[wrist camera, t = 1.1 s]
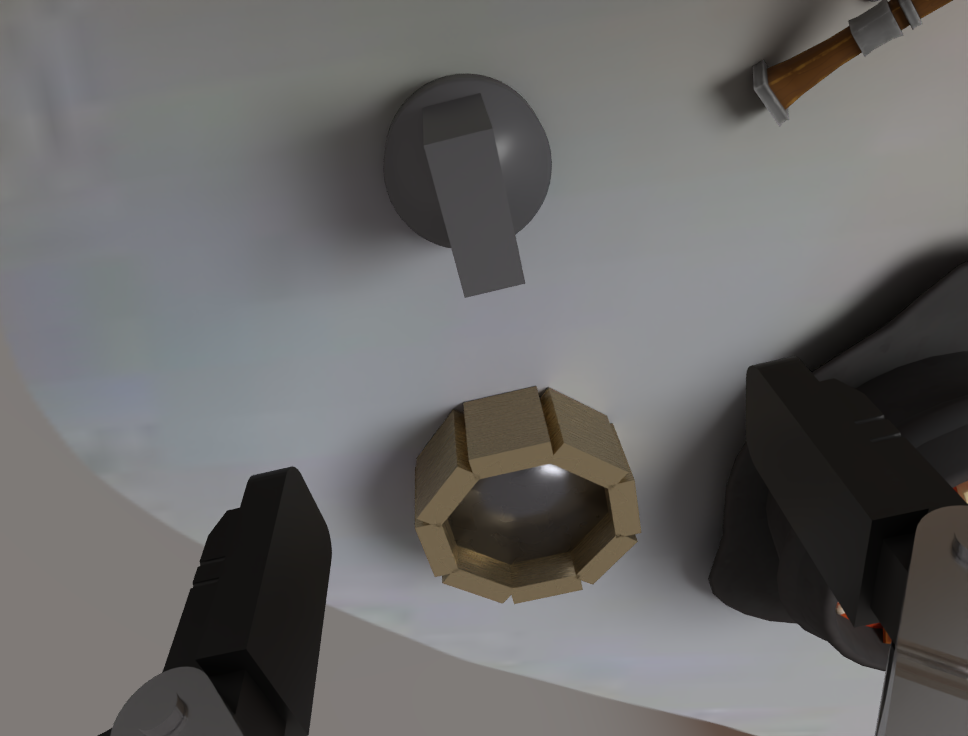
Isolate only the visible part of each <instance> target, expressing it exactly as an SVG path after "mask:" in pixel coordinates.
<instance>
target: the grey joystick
mask: <svg viewBox="0 0 968 736" xmlns="http://www.w3.org/2000/svg"><path fill="white" fill-rule="evenodd" d="M551 170H552V160H551V151H550V146H549V142H548V139H547V136H546V134H545V131H544V129H543V127H542V125H541V124H540V122H539V120H538V118H537V116H536V115H535V113H534V111H533V110H532V108H531V107H530V106H529V104H528V103H527V102H526V101H525V100H524V99H523V98H522V97H521V95H520V94H518V93H517V92H516V91H515V90H513V89H512V88H511V87H509V86H507V85H506V84H504V83H502V82H500V81H498V80H495V79H493V78H490V77H486V76H482V75H477V74H455V75H450V76H445V77H442V78H439V79H436V80H434V81H432V82H430V83H428V84H426V85H424V86H423V87H421V88H420V89H418V90H417V91H416V92H415V93H413V94H412V95H411V96H410V97H409V98H408V99H407V100H406V101H405V103H404V104H403V105H402V106H401V108H400V109H399V111H398V112H397V114H396V115H395V117H394V120H393V122H392V124H391V126H390V129H389V133H388V136H387V142H386V148H385V155H384V178H385V184H386V188H387V192H388V195H389V197H390V200H391V202H392V204H393V206H394V208H395V210H396V212H397V213H398V214H399V216H400V217H401V218H402V220H403V221H404V222H405V223H406V224H407V225H408V226H409V227H410V228H411V229H412V230H413V231H415V232H416V233H417V234H418V235H420V236H422V237H423V238H425V239H426V240H428V241H431V242H433V243H435V244H437V245H441V246H444V247H447V248H452V252H453V256H454V259H455V263H456V267H457V270H458V274H459V278H460V281H461V285H462V289H463V293H464V296H465V298H466V297H470V296H474V295H479V294H483V293H487V292H491V291H496V290H500V289H504V288H508V287H512V286H517V285H521V284H525V280H524V275H523V270H522V265H521V261H520V256H519V251H518V246H517V242H516V237H515V234H517V233H518V232H519V231H520V230H522V229H523V228H524V227H525V226H526V225H527V224H528V223H529V222H530V221H531V220H532V218H533V217H534V216H535V215H536V213H537V212H538V210H539V208H540V207H541V205H542V203H543V201H544V199H545V197H546V194H547V191H548V188H549V184H550V179H551Z"/></svg>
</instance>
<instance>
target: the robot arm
mask: <svg viewBox="0 0 968 736" xmlns="http://www.w3.org/2000/svg"><path fill="white" fill-rule="evenodd" d="M746 440H747V445H748V449H749V453H750V456H751V459H752V461H753V463H754V466H755V467H756V469H757V471H758V473H759V474H760V476H761V477H762V479H763V481H764V482H765V484H766V486H767V487H768V489H769V490H770V492H771V494H772V495H773V497H774V499H775V500H776V502H777V503H778V505H779V507H780V508H781V510H782V512H783V513H784V515H785V516H786V518H787V520H788V521H789V523H790V524H791V526H792V528H793V529H794V531H795V533H796V534H797V536H798V537H799V539H800V541H801V542H802V544H803V546H804V547H805V549H806V550H807V552H808V554H809V555H810V557H811V559H812V560H813V562H814V563H815V565H816V567H817V568H818V570H819V572H820V573H821V575H822V576H823V578H824V580H825V581H826V583H827V585H828V586H829V588H830V589H831V591H832V593H833V594H834V596H835V598H836V599H837V601H838V602H839V604H840V606H841V607H842V609H843V611H844V612H845V614H846V615H847V617H848V619H849V620H850V622H851V624H852V625H853V627H854V628H856V627H861V626H866V625H871V624H876V623H881V625H882V626H883V628H884V629H885V631H886V632H887V634H888V635H889V637H890V638H891V645H890V649H889V655H888V661H887V666H886V672H885V678H884V684H883V690H882V696H881V701H880V707H879V713H878V719H877V725H876V731H875V736H968V504H967V503H966V502H965V501H964V499H963V498H962V497H961V496H960V495H959V494H958V493H957V492H956V491H955V490H954V489H953V488H952V487H951V486H950V485H949V483H948V482H947V481H946V480H945V479H944V478H943V477H942V476H941V475H940V474H939V473H938V472H937V471H936V470H935V469H934V468H933V466H932V465H931V464H930V463H929V462H928V461H927V460H926V459H925V458H924V457H923V456H922V455H921V454H920V453H919V452H918V450H917V449H916V448H915V447H914V446H913V445H912V444H911V443H910V442H909V441H908V440H907V439H906V438H905V437H902V436H901V432H900V431H899V430H898V429H897V428H896V427H895V426H894V425H893V424H892V423H891V422H890V421H889V420H888V419H885V418H884V414H883V413H882V412H881V411H880V410H879V409H878V408H877V407H876V406H875V405H874V404H873V403H872V401H871V400H870V399H869V398H868V397H867V396H866V395H865V394H864V393H862V392H860V391H858V390H856V389H854V388H852V387H850V386H849V385H847V384H845V383H843V382H841V381H839V380H837V379H835V378H833V379H829V380H824V381H820V382H819V381H818V380H817V378H816V377H815V376H814V375H813V374H812V373H811V372H810V370H809V369H808V368H807V367H806V366H805V365H804V363H803V362H802V361H801V360H800V359H799V358H797V357H794V356H793V357H788V358H783V359H779V360H774V361H770V362H766V363H761V364H757V365H752V366H750V367H749V368H748V370H747V374H746ZM331 558H332V547H331V539H330V534H329V531H328V527H327V525H326V522H325V520H324V518H323V516H322V514H321V513H320V511H319V509H318V507H317V505H316V503H315V501H314V499H313V497H312V495H311V493H310V491H309V489H308V487H307V485H306V483H305V481H304V479H303V477H302V475H301V473H300V472H299V470H298V469H297V468H295V467H288V468H283V469H279V470H274V471H270V472H265V473H261V474H256V475H253V476H251V477H250V478H249V480H248V482H247V485H246V489H245V492H244V496H243V499H242V502H241V506H240V508H237V509H232V510H228V511H226V513H225V514H224V515H223V517H222V518H221V519H220V521H219V522H218V523H217V525H216V526H215V527H214V529H213V530H212V531H211V533H210V534H209V535H208V538H207V541H206V544H205V547H204V550H203V553H202V556H201V559H200V567H198V568H197V571H196V574H195V577H194V580H193V588H191V589H190V592H189V595H188V598H187V601H186V604H185V607H184V610H183V613H182V616H181V619H180V622H179V625H178V628H177V631H176V634H175V637H174V640H173V643H172V646H171V649H170V652H169V655H168V658H167V661H166V664H165V667H164V670H163V672H162V673H161V674H159V675H157V676H155V677H153V678H152V679H151V680H149V681H148V682H146V683H145V684H144V685H143V686H142V687H140V688H139V689H138V690H137V691H136V692H135V693H134V694H133V695H132V696H131V697H130V698H129V700H128V701H127V702H126V703H125V705H124V706H123V708H122V709H121V711H120V712H119V714H118V716H117V718H116V720H115V722H114V725H113V728H111V729H109V730H108V731H106V732H104V733H102V734H100V735H98V736H308V735H309V727H310V719H311V712H312V704H313V697H314V689H315V681H316V673H317V666H318V658H319V651H320V643H321V635H322V627H323V620H324V612H325V605H326V597H327V589H328V582H329V574H330V566H331Z"/></svg>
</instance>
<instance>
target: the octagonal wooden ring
mask: <svg viewBox="0 0 968 736" xmlns="http://www.w3.org/2000/svg"><path fill="white" fill-rule="evenodd" d="M463 404H464V414H463V413H461V412H459V411H456V410H454V409H453V410H452V411H451V413H450V414H449V415H448V417H447V418H446V419H445V421H444V422H443V424H442V425H441V426H440V428H439V429H438V430H437V432H436V433H435V434H434V436H433V437H432V438H431V440H430V441H429V442H428V444H427V445H426V447H425V448H424V449H423V451H422V452H421V453H420V455H419V456H418V457H417V467H415V530H416V532H417V534H418V537H419V539H420V542H421V544H422V547H423V549H424V551H425V554H426V556H427V559H428V561H429V564H430V566H431V568H432V571H433V573H434V576H435V577H437V576H441V575H442V583H444V584H447V585H450V586H453V587H456V588H459V589H462V590H464V591H467V592H470V593H473V594H476V595H479V596H482V597H485V598H488V599H491V600H494V601H497V602H500V603H504V602H505V601H506V600H507V599H508V598H509V596H510V595H512V598H513V601H514V604H517V603H521V602H526V601H531V600H536V599H541V598H545V597H550V596H555V595H560V594H564V593H569V592H574V591H579V590H583V589H582V584H581V580H582V581H585V582H587V583H590V584H594V583H595V582H596V581H597V580H598V579H599V578H600V577H601V576H602V575H603V574H604V573H605V572H606V571H607V570H609V569H610V568H611V567H612V566H613V565H614V564H615V563H616V562H617V561H618V560H619V559H620V558H621V557H622V556H623V555H624V554H625V553H626V552H627V551H628V550H629V549H630V548H631V547H632V546H633V545H634V544H635V543H637V542H638V541H637V538H636V536H635V534H638V533H641V527H640V519H639V511H638V503H637V495H636V488H635V480H634V477H633V475H632V472H631V470H630V467H629V464H628V462H627V459H626V457H625V454H624V451H623V449H622V446H621V444H620V441H619V438H618V436H617V433H616V430H615V428H614V425H613V423H612V424H610V423H609V420H608V417H607V416H606V415H604V414H602V413H600V412H598V411H596V410H594V409H592V408H590V407H588V406H586V405H584V404H582V403H580V402H578V401H576V400H574V399H572V398H570V397H567V396H565V395H563V394H561V393H559V392H557V391H555V390H553V389H551V388H548V389H547V390H546V391H545V393H544V394H543V395H542V396H541V397H540V398H539V394H538V390H537V386H535V387H530V388H526V389H521V390H517V391H513V392H508V393H504V394H500V395H495V396H491V397H486V398H482V399H478V400H473V401H469V402H464V403H463Z"/></svg>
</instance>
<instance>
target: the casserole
mask: <svg viewBox="0 0 968 736" xmlns="http://www.w3.org/2000/svg"><path fill="white" fill-rule="evenodd" d="M812 374H813V375H814V376H815V377H816V378H817V380H818V381H819V382H820V381H824V380H829V379H833V378H835V379H837V380H839V381H841V382H843V383H845V384H847V385H849V386H850V387H852V388H854V389H856V390H858V391H860V392H862V393H864V394H865V395H866V396H867V397H868V398H869V399H870V400H871V401H872V403H873V404H874V405H875V406H876V407H877V408H878V409H879V410H880V411H881V412H882V413H883V414H884V418H885V419H888V420H889V421H890V422H891V423H892V424H893V425H894V426H895V427H896V428H897V429H898V430H899V431H900V432H901V436H902V437H905V438H906V439H907V440H908V441H909V442H910V443H911V444H912V445H913V446H914V447H915V448H916V449H917V450H918V452H919V453H920V454H921V455H922V456H923V457H924V458H925V459H926V460H927V461H928V462H929V463H930V464H931V465H932V466H933V468H934V469H935V470H936V471H937V472H938V473H939V474H940V475H941V476H942V477H943V478H944V479H945V480H946V481H947V482H948V483H949V485H950V486H951V487H952V488H953V489H954V490H955V491H956V492H957V493H958V494H959V495H960V496H961V497H962V498H963V499H964V501H965V502H966V503H967V504H968V261H967V262H965V263H963V264H960V265H959V266H957V267H956V268H955V269H953V270H952V271H951V272H950V273H948V274H947V275H946V276H945V277H943V278H942V279H941V280H940V281H938V282H937V283H936V284H935V285H933V286H932V287H931V288H929V289H928V290H927V291H926V292H924V293H923V294H922V295H921V296H920V297H918V298H917V299H916V300H915V301H914V302H913V303H911V304H910V305H909V306H908V307H907V308H905V309H904V310H903V311H902V312H901V313H900V314H898V315H897V316H896V317H895V318H894V319H893V320H891V321H890V322H889V323H888V324H887V325H885V326H884V327H882V328H881V329H879V330H877V331H876V332H874V333H873V334H871V335H870V336H868V337H866V338H865V339H863V340H862V341H860V342H859V343H857V344H855V345H854V346H852V347H851V348H849V349H848V350H846V351H844V352H843V353H841V354H840V355H838V356H837V357H835V358H834V359H832V360H830V361H829V362H827V363H826V364H824V365H823V366H821V367H820V368H818V369H816V370H815V371H813V372H812ZM708 580H709V583H710V586H711V589H712V592H713V594H714V595H715V596H716V597H718V598H719V599H720V600H721V601H722V602H723V603H724V604H726V605H727V606H729V607H731V608H733V609H735V610H737V611H740V612H742V613H744V614H746V615H750V616H753V617H757V618H761V619H765V620H768V621H776V622H786V623H797V624H799V625H800V626H801V627H802V628H803V629H804V630H805V631H807V632H809V633H811V634H813V635H815V636H817V637H819V638H821V639H823V640H825V641H828V642H829V643H830V644H831V645H832V646H833V647H834V648H835V649H836V650H837V651H839V652H840V653H841V654H842V655H843V656H844V657H846V658H848V659H850V660H852V661H854V662H856V663H858V664H860V665H862V666H866V667H870V668H874V669H877V670H881V671H886V666H887V661H888V655H889V649H890V645H891V638H890V637H889V635H888V634H887V632H886V631H885V629H884V628H883V626H882V625H881V623H876V624H871V625H866V626H861V627H856V628H854V627H853V625H852V624H851V622H850V620H849V619H848V617H847V615H846V614H845V612H844V611H843V609H842V607H841V606H840V604H839V602H838V601H837V599H836V598H835V596H834V594H833V593H832V591H831V589H830V588H829V586H828V585H827V583H826V581H825V580H824V578H823V576H822V575H821V573H820V572H819V570H818V568H817V567H816V565H815V563H814V562H813V560H812V559H811V557H810V555H809V554H808V552H807V550H806V549H805V547H804V546H803V544H802V542H801V541H800V539H799V537H798V536H797V534H796V533H795V531H794V529H793V528H792V526H791V524H790V523H789V521H788V520H787V518H786V516H785V515H784V513H783V512H782V510H781V508H780V507H779V505H778V503H777V502H776V500H775V499H774V497H773V495H772V494H771V492H770V490H769V489H768V487H767V486H766V484H765V482H764V481H763V479H762V477H761V476H760V474H759V473H758V471H757V469H756V467H755V466H754V463H753V461H752V459H751V456H750V453H749V449H748V445H747V441H746V443H745V444H744V446H743V448H742V449H741V451H740V453H739V454H738V456H737V458H736V460H735V463H734V465H733V468H732V471H731V474H730V477H729V480H728V483H727V485H726V494H725V507H724V520H723V535H722V538H721V541H720V544H719V548H718V551H717V554H716V557H715V560H714V563H713V566H712V569H711V572H710V575H709V578H708Z"/></svg>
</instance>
